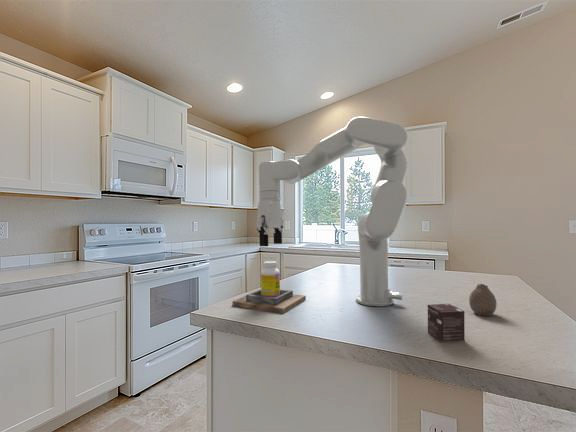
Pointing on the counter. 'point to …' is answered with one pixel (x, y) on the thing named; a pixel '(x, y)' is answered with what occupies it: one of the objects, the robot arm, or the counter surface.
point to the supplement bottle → (270, 280)
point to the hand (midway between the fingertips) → (271, 244)
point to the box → (446, 323)
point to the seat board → (270, 301)
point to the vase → (482, 301)
